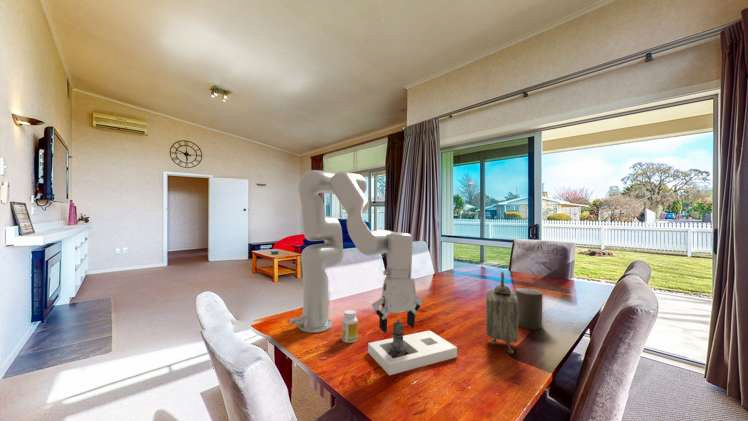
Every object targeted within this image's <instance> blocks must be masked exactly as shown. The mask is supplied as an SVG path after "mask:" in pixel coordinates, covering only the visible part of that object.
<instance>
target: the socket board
mask: <svg viewBox="0 0 748 421" xmlns="http://www.w3.org/2000/svg"><path fill="white" fill-rule="evenodd" d="M390 343H393V337H392V338H387V339H386V338H385V339H381V340H376V341H371V342H368V343H367V346H368V347H367V352H368V354H369V355H370V357H371V358H373V360H374V361H375V362H376V363H377V364H378V365H379V366H380V367H381V368H382V369H383V370H384V372H386V374H387V375H388V376H393V375H397V374H400V373H403V372H407V371H411V370H414V369H419V368H422V367H426V366H428V365H433V364H437V363H439V362H444V361H449V360H451V359H455V358H458V347H457V346H455V344H453V343H451V342H450V341H447V340H446V339H444V338H443V337H441V336H440V335H438V334H436V333H435V332H433V331H431V330H425V331H420V332H414V333H411V334H406V335H405V334H404V336H403V343H404V344H406V345H407V347H408V348H407V350H406V353H408V354H406V355H405V354H404V355H405V356H401V357H397V358H392V357H391V356H390V355H391V354H389V353H391V352H390V349H389V344H390Z"/></svg>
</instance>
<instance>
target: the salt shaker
mask: <svg viewBox="0 0 748 421" xmlns="http://www.w3.org/2000/svg"><path fill="white" fill-rule="evenodd" d="M403 336H405V333H404V324H403V323H402V322H401V321H400V319H397V321H395V322H394V323H393V332H392V338H393V343H390V344H389V349H390V352H389V353H390V354H389V355H390V356H391V357H392V358H397V357H401V356H405V354H406V353H407V352H406V350H407V348H408V347H407V345H406V344H404V343H403Z"/></svg>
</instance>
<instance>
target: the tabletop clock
mask: <svg viewBox="0 0 748 421" xmlns="http://www.w3.org/2000/svg"><path fill="white" fill-rule="evenodd" d="M500 278H501V279H500V284H498V285H496V287H495V288H494V289H491V290H488V291H486V295H485V298H486V301H485V303H486V304H485V305H486V306H485V309H486V310H485V311H486V312H485V331H486V332H485V335H487V336H488V337H490V338H491V339H492V340H491V344H492V345H493V346H495V345H497V344H498V342H497V340H500V341H504V342H505V345H506V346H507V348H508V350H507V352H508V354H509V355H513V354H514V350H513V349H512V348H511V346H510V342H513V343H518V339H519V336H518V333H519V326H518V300H517V296H516V294H515V292H516V291H515V292H514V291H511V289H510V287H508V286H507V285H505V273H504V271H501V273H500Z"/></svg>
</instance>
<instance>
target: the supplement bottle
mask: <svg viewBox="0 0 748 421" xmlns="http://www.w3.org/2000/svg"><path fill="white" fill-rule="evenodd" d="M343 313H344V315H343V316H344V317H343V318H342V320H341V324H342V325H341V340H342V342H344V343H348V344H349V343H350V344H351V343H355V342H357V341H358V336H359V335H358V334H359V333H358V331H359V330H358V327H359V325H358V324H359V320H358V318H357V317H356V315H357V312H356V310H352V309H348V310H345V311H344V312H343Z"/></svg>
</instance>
